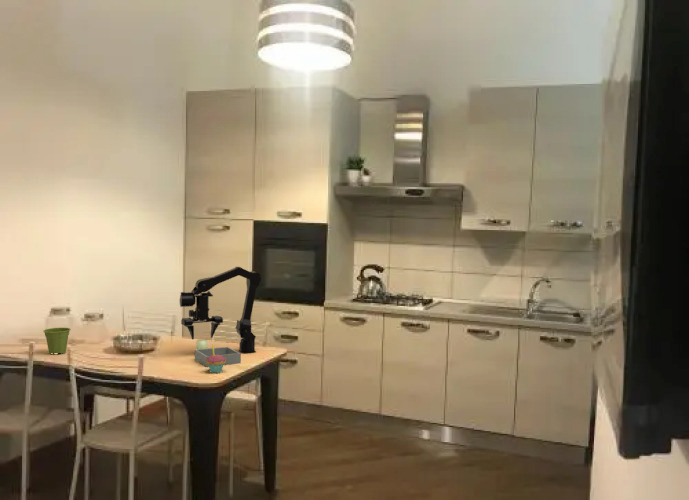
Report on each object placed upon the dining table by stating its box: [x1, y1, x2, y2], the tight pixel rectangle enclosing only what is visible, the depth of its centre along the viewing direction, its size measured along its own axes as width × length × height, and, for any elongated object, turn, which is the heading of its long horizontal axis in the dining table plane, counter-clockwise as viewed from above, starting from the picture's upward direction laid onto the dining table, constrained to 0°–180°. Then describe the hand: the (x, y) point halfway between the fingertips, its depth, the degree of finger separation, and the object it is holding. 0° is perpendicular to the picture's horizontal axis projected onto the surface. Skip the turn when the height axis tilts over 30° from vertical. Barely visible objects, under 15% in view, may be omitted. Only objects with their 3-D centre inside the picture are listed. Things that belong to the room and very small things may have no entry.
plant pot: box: [42, 327, 71, 354], centre depth 294 cm, size 12×12×11 cm
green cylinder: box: [196, 339, 208, 350], centre depth 296 cm, size 5×5×7 cm
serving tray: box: [194, 346, 242, 368], centre depth 284 cm, size 16×16×4 cm
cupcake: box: [206, 343, 226, 374], centre depth 265 cm, size 9×8×12 cm
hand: (202, 338), depth 296 cm, fingers open, 9 cm apart
